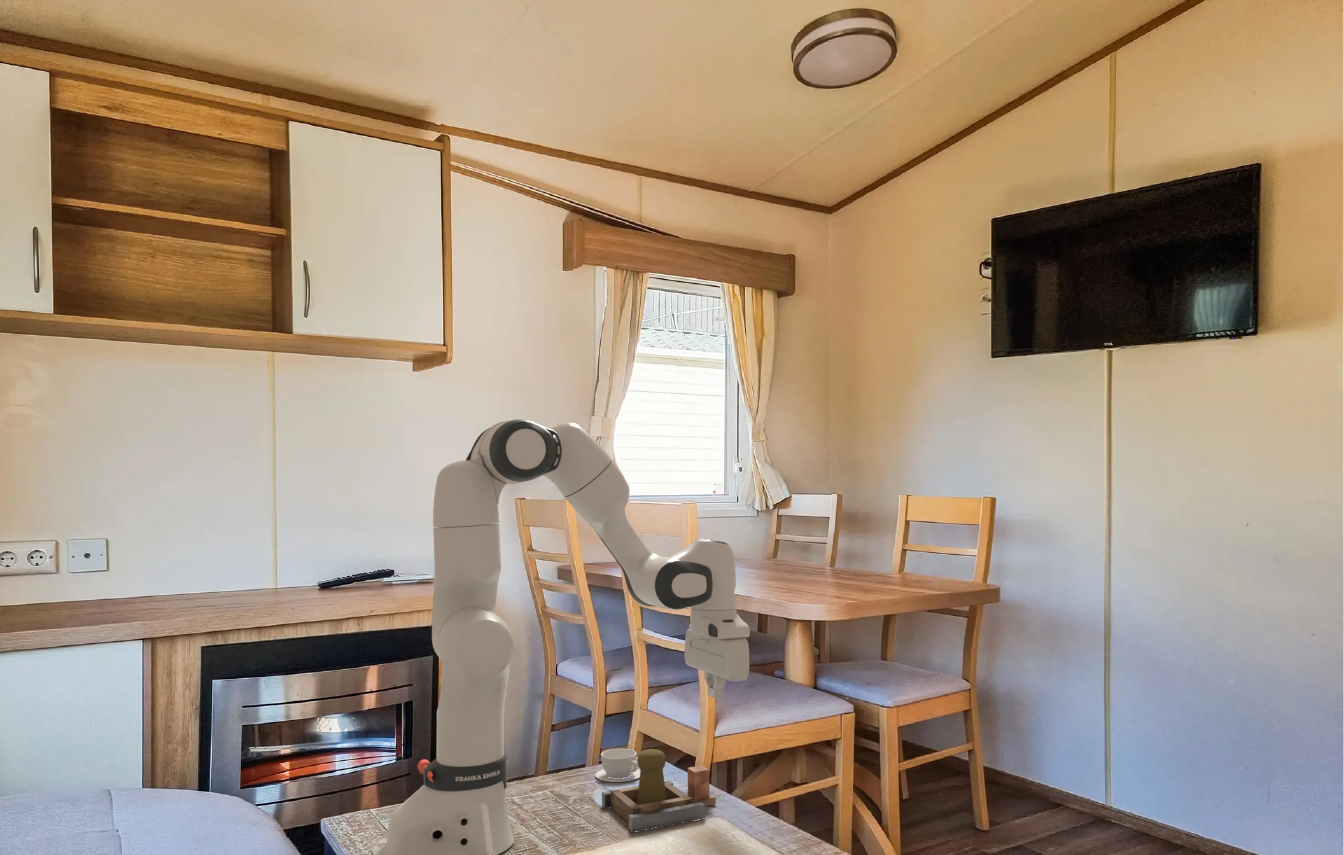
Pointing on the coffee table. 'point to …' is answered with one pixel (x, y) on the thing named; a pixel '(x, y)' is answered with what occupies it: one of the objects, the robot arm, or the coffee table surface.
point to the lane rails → (660, 814)
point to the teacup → (618, 765)
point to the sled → (697, 792)
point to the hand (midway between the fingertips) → (715, 697)
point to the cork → (651, 776)
